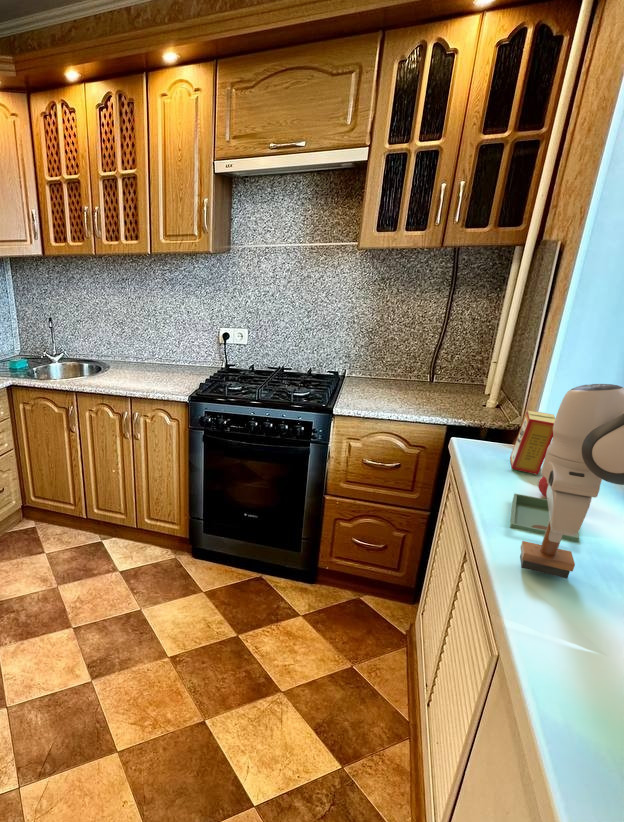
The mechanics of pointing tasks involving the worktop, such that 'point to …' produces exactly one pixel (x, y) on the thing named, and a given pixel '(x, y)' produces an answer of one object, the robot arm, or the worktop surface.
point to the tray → (532, 515)
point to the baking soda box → (532, 442)
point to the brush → (547, 557)
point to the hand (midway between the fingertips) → (553, 536)
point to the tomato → (543, 486)
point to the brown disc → (539, 527)
